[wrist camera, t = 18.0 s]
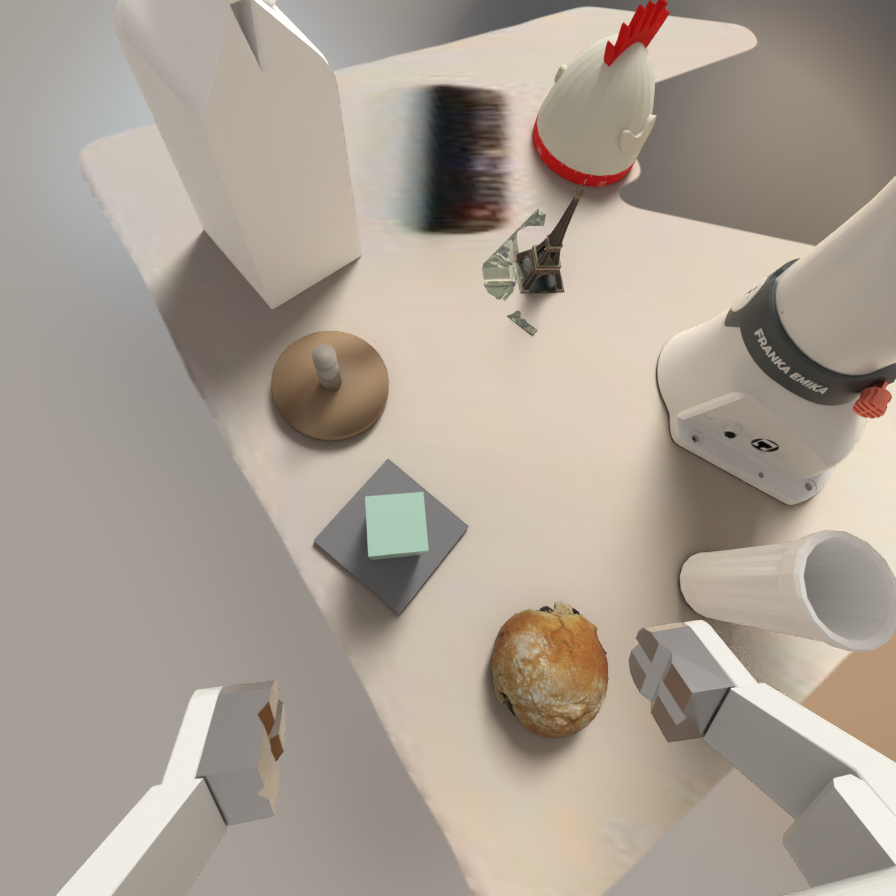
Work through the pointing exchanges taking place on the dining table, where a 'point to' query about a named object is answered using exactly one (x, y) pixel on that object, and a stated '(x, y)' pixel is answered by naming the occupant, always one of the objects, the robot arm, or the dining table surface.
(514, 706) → the bread roll
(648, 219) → the dining table surface
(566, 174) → the kitchen timer
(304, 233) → the milk
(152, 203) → the dining table surface
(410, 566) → the charcoal mat
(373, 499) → the mint rectangular pillar
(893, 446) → the dining table surface
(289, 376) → the post stand
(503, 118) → the dining table surface
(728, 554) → the cup
